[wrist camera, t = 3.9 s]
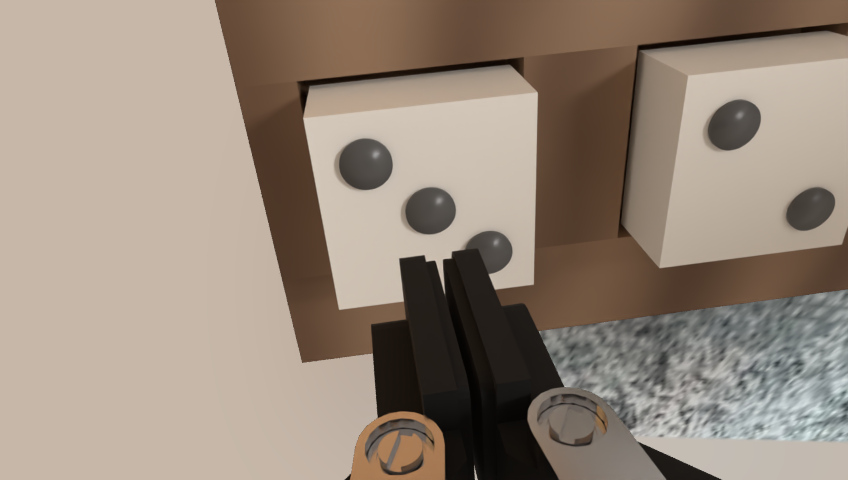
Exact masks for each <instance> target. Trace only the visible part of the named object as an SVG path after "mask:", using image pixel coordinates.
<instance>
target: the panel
mask: <svg viewBox="0 0 848 480" xmlns="http://www.w3.org/2000/svg"><path fill="white" fill-rule="evenodd" d="M215 3H216V7H217V11H218V15H219V19H220V24H221V28H222V32H223V36H224V40H225V44H226V48H227V53H228V57H229V60H230V65H231V69H232V73H233V77H234V82H235V86H236V90H237V94H238V98H239V102H240V106H241V110H242V115H243V119H244V123H245V127H246V131H247V136H248V140H249V144H250V148H251V152H252V156H253V160H254V165H255V168H256V173H257V177H258V181H259V185H260V189H261V194H262V198H263V202H264V206H265V210H266V214H267V218H268V223H269V227H270V231H271V235H272V239H273V244H274V248H275V252H276V256H277V260H278V264H279V268H280V273H281V277H282V281H283V285H284V289H285V293H286V297H287V302H288V305H289V310H290V314H291V318H292V322H293V327H294V330H295V335H296V339H297V343H298V347H299V351H300V355H301V360H302V363H303V362H311V361H318V360H326V359H334V358H340V357H349V356H356V355H364V354H371V353H373V348H372V335H371V324H376V323H383V322H390V321H398V320H405V319H406V315H405V307H404V302H396V303H388V304H381V305H373V306H365V307H357V308H350V309H342V310H339V307H338V301H337V296H336V291H335V285H334V280H333V275H332V269H331V264H330V259H329V253H328V248H327V243H326V237H325V232H324V227H323V221H322V216H321V211H320V205H319V200H318V195H317V189H316V184H315V179H314V173H313V168H312V163H311V157H310V152H309V147H308V141H307V136H306V131H305V125H304V120H303V117H304V112H305V107H306V102H307V97H308V92H309V87H310V86H314V85H324V84H333V83H342V82H352V81H361V80H370V79H379V78H389V77H398V76H407V75H417V74H426V73H435V72H445V71H454V70H463V69H473V68H482V67H491V66H501V65H511V66H512V67H513V68H514V69H515V70H516V71H517V72H518V73H519V74H520V75H521V76H522V77H523V78H524V79H525V80H526V81H527V82H528V83H529V84H530V85H531V86H532V87H533V88H534V89H535V90H536V91H537V92H538V107H537V154H536V201H535V248H534V285H527V286H519V287H511V288H504V289H496V290H495V291H496V294H497V296H498V299H499V301H500V303H501V306H505V305H512V304H519V303H524V304H525V305H526V307H527V308H528V310H529V313H530V315H531V317H532V319H533V321H534V323H535V325H536V328H537V330H538V331H542V330H549V329H556V328H564V327H571V326H579V325H586V324H593V323H601V322H608V321H616V320H623V319H631V318H638V317H645V316H653V315H660V314H668V313H675V312H682V311H690V310H697V309H705V308H712V307H720V306H727V305H734V304H742V303H749V302H757V301H764V300H771V299H779V298H786V297H794V296H801V295H809V294H816V293H823V292H831V291H838V290H846V289H848V227H847V230H846V233H845V236H844V239H843V242H842V245H834V246H826V247H819V248H811V249H803V250H796V251H788V252H780V253H773V254H765V255H757V256H750V257H742V258H734V259H727V260H719V261H711V262H703V263H696V264H688V265H680V266H673V267H665V268H659V267H658V266H657V265H656V264H655V263H654V261H653V260H652V259H651V258H650V257H649V256H648V254H647V253H646V252H645V251H644V250H643V248H642V247H641V246H640V245H639V244H638V243H637V241H636V240H635V239H634V238H633V237H632V236H631V234H630V233H629V232H628V231H627V230H626V229H625V227H624V226H623V225H622V224H621V216H622V206H623V197H624V188H625V178H626V169H627V159H628V150H629V140H630V131H631V121H632V112H633V102H634V93H635V83H636V74H637V65H638V55H639V51H640V50H649V49H659V48H668V47H677V46H687V45H696V44H705V43H715V42H724V41H733V40H743V39H752V38H761V37H770V36H780V35H789V34H798V33H808V32H817V31H830V32H834V33H838V34H841V35H845V36H848V0H215Z"/></svg>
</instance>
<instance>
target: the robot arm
mask: <svg viewBox="0 0 848 480" xmlns="http://www.w3.org/2000/svg"><path fill="white" fill-rule="evenodd" d="M451 257H452V258H450V259H443V273H444V287H445V294H444V290H443V286H442V283H441V279H440V275H439V272H438V268H437V264H436V261H427V262H426V259H425V255H421V256H413V257H406V258H399V264H400V272H401V281H402V290H403V298H404V307H405V315H406V319H405V320H398V321H390V322H383V323H376V324H371V335H372V348H373V361H374V375H375V388H376V401H377V414H378V418H377V419H376V420H374V421H373V422H372V423H370V424H369V425H367V426H366V428H365V429H364V430H363V431H362V433H361V434H360V435H359V438H358V441H357V443H356V446H355V452H354V458H353V465H352V472H351V474H350V475H349V476H348V477H347V478H346V479H345V480H475V475H474V466H475V470H476V474H477V478H478V480H721V479H719V478H717V477H714V476H712V475H710V474H708V473H706V472H704V471H701V470H699V469H697V468H695V467H693V466H690V465H688V464H686V463H683V462H682V461H679V460H677V459H675V458H673V457H670V456H668V455H666V454H664V453H662V452H659V451H657V450H655V449H653V448H651V447H648V446H646V445H644V444H642V443H639V442H637V441H636V439H635V438H634V437H633V435H632V434H631V433H630V431H629V430H628V429H627V427H626V426H625V425H624V423H623V422H622V421H621V420H620V418H619V417H618V416H617V414H616V413H615V412H614V410H613V409H612V408H611V407H610V406H609V405H608V404H607V403H606V402H605V401H604V400H603V399H602V398H600V397H598V396H597V395H595V394H593V393H592V392H589V391H586V390H582V389H579V388H570V387H564V385H563V383H562V381H561V379H560V377H559V375H558V372H557V370H556V368H555V366H554V364H553V362H552V360H551V357H550V355H549V353H548V351H547V349H546V347H545V345H544V343H543V340H542V338H541V336H540V334H539V332H538V330H537V328H536V325H535V323H534V321H533V319H532V317H531V315H530V313H529V310H528V308H527V307H526V305H525V304H524V303H519V304H512V305H505V306H501V303H500V301H499V299H498V296H497V294H496V291H495V289H494V286H493V284H492V281H491V279H490V276H489V274H488V271H487V269H486V266H485V264H484V262H483V259H482V257H481V254H480V252H479V250H478V248H474V249H466V250H458V251H452V256H451Z"/></svg>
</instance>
